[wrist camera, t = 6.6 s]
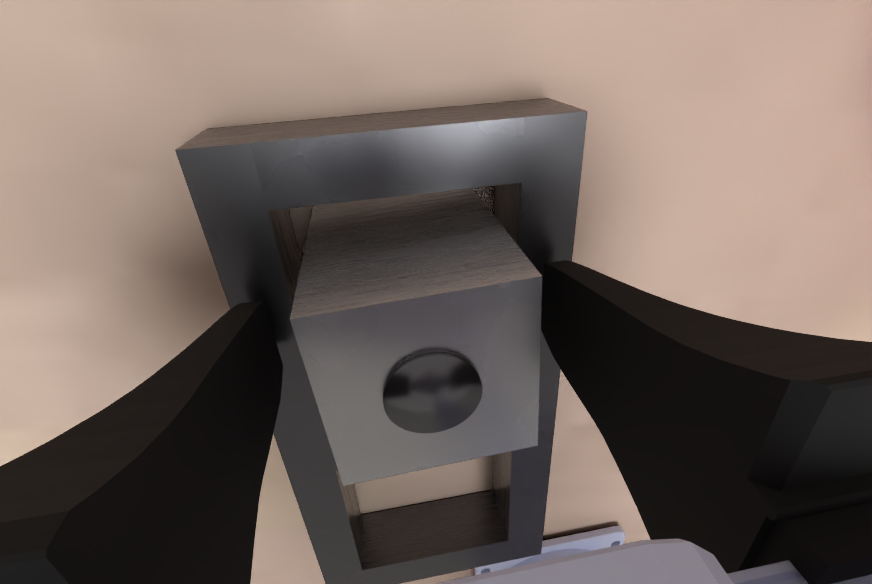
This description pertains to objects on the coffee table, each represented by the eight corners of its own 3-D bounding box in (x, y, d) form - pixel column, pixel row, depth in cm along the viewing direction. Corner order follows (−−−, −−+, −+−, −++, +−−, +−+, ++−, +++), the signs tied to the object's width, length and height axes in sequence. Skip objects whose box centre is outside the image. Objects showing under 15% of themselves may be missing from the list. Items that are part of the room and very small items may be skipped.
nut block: (475, 309, 16) (540, 450, 10) (345, 332, 15) (343, 491, 10) (467, 181, 13) (545, 280, 8) (313, 204, 13) (288, 324, 8)
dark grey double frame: (522, 504, 21) (541, 554, 19) (332, 541, 20) (330, 597, 18) (548, 98, 12) (587, 111, 10) (206, 128, 11) (175, 150, 9)
